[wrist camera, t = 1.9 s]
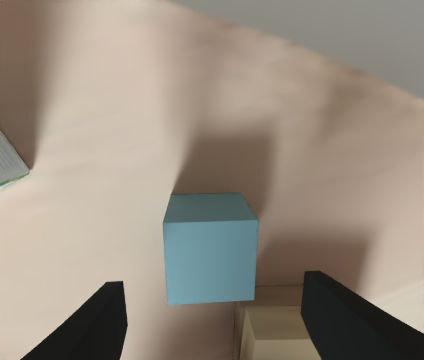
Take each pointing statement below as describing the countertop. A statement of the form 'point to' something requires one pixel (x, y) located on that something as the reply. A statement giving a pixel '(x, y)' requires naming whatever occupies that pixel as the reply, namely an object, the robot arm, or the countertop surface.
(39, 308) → the countertop surface
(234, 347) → the slab bottom
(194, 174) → the countertop surface
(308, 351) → the slab top
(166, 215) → the teal cube
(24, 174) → the syrup box
